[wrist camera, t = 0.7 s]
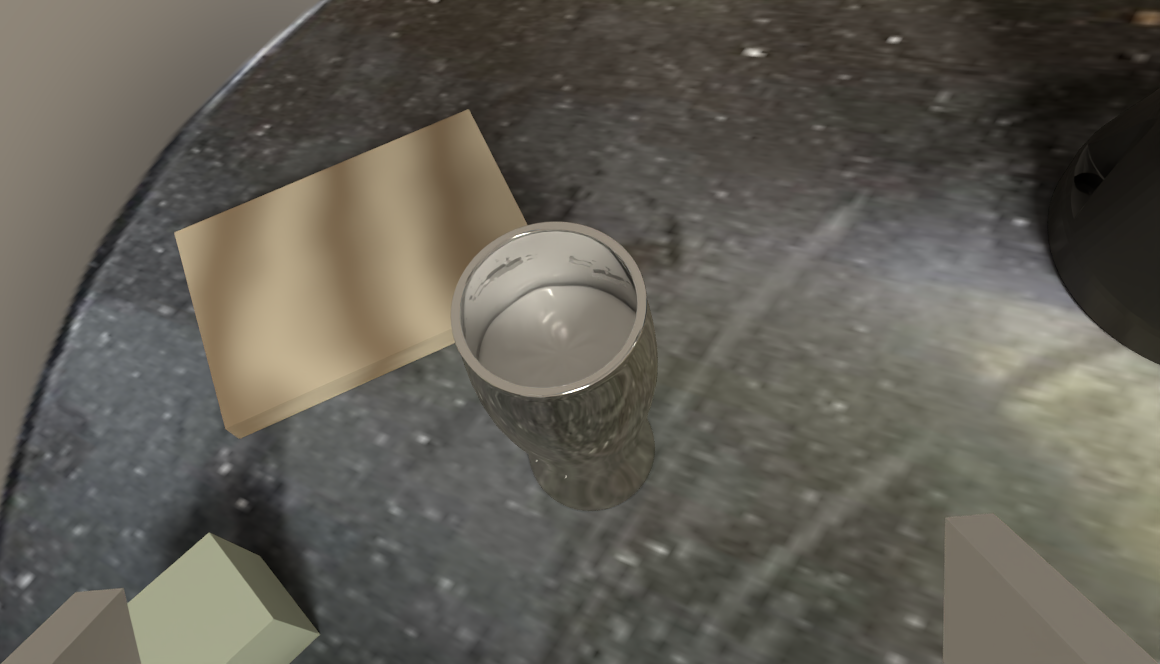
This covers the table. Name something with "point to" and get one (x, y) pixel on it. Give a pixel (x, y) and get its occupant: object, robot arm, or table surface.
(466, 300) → the beer glass
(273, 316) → the board
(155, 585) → the sage block
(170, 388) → the table surface
